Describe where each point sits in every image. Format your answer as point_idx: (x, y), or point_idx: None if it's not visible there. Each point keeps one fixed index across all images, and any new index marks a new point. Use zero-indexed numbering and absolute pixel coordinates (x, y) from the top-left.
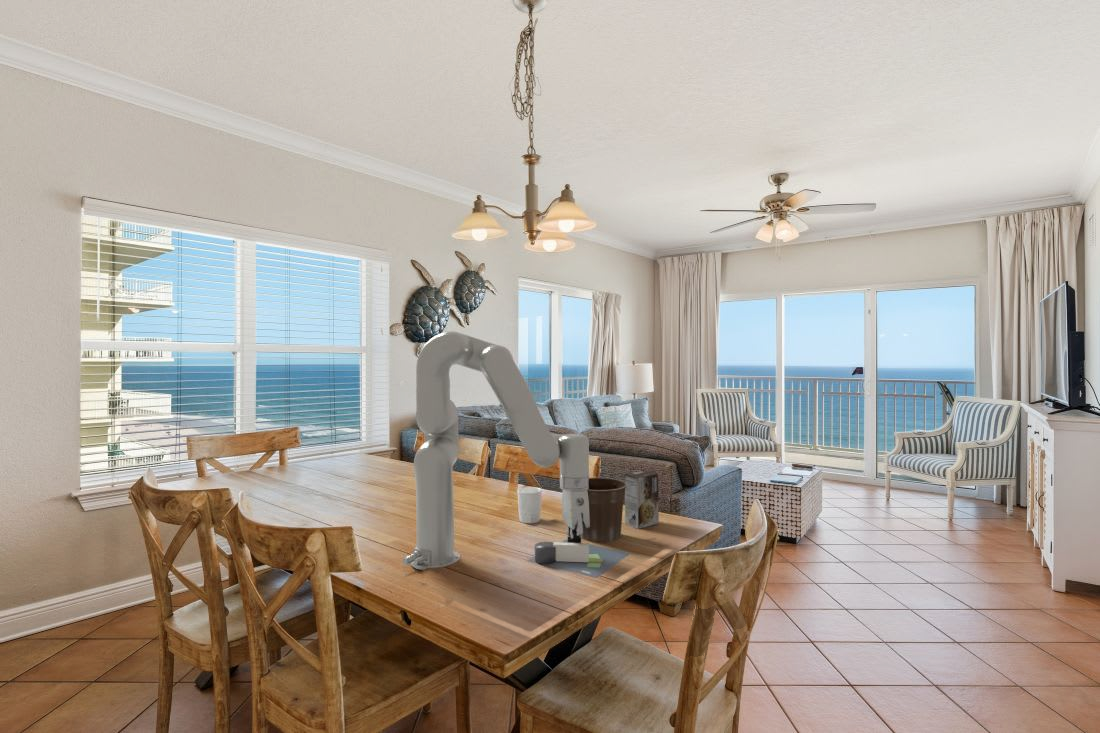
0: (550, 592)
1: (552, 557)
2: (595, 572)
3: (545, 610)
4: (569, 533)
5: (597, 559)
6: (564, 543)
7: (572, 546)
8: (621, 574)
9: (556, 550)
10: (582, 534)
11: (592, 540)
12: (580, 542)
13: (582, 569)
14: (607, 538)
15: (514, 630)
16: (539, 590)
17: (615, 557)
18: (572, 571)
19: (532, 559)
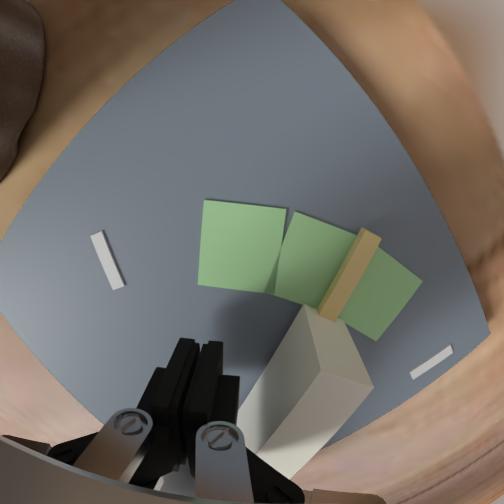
0: (440, 458)
1: None
2: (454, 321)
3: (491, 459)
4: (160, 481)
5: (359, 268)
6: None
7: (301, 460)
8: (475, 177)
9: None
10: (381, 501)
11: (5, 155)
12: (214, 388)
13: (394, 368)
14: (24, 64)
15: (494, 487)
16: (411, 478)
17: (310, 101)
18: (388, 409)
19: None
